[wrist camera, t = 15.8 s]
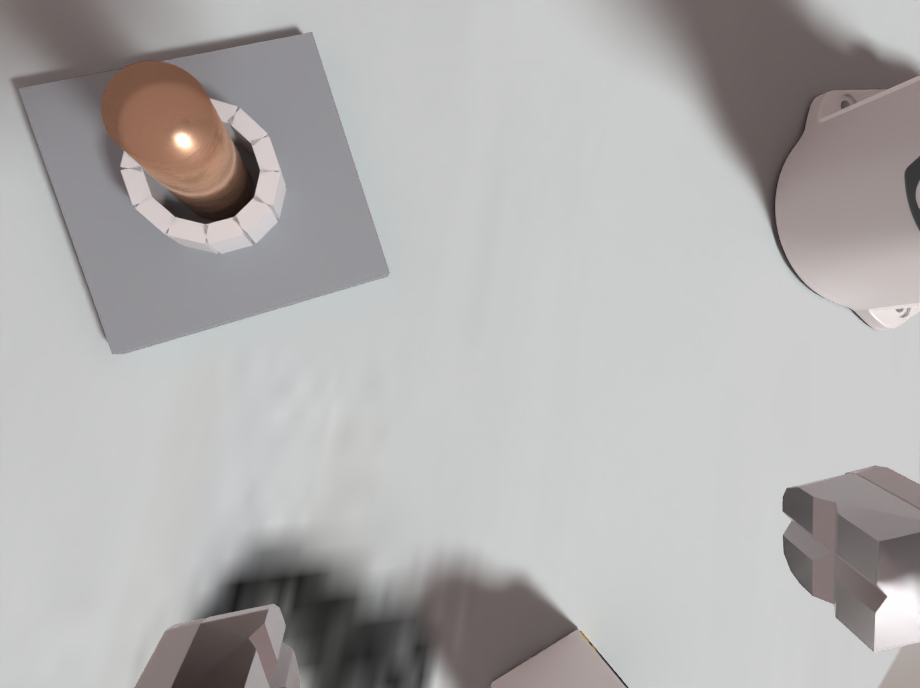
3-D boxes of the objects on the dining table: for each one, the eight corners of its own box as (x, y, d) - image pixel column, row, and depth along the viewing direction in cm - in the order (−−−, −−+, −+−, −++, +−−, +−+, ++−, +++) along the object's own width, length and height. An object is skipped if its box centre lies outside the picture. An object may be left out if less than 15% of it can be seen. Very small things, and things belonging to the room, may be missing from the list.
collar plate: (313, 46, 34) (308, 0, 29) (387, 276, 34) (394, 265, 30) (33, 101, 30) (-19, 58, 26) (123, 353, 31) (86, 354, 27)
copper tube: (240, 143, 31) (193, 51, 21) (262, 210, 31) (226, 149, 22) (168, 160, 30) (85, 72, 21) (191, 228, 31) (121, 173, 21)
